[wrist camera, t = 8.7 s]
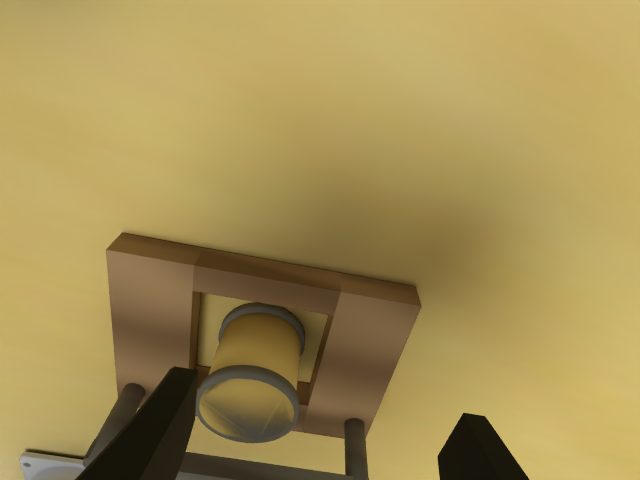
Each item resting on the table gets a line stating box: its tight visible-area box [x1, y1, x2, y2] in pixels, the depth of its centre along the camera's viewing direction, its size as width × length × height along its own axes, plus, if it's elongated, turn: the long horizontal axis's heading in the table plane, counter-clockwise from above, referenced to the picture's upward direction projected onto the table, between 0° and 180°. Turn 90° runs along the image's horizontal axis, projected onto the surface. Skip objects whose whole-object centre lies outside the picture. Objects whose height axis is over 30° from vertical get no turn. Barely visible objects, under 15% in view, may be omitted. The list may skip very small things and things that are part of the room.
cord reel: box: [196, 302, 305, 443], centre depth 21 cm, size 5×5×5 cm
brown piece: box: [83, 233, 421, 480], centre depth 20 cm, size 11×15×6 cm
